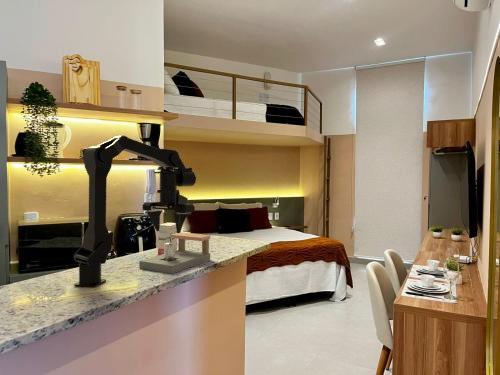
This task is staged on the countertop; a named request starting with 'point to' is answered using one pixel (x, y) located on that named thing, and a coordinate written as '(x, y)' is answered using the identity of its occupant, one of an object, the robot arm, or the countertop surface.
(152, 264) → the socket board
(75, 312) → the countertop surface
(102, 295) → the countertop surface
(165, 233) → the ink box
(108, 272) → the countertop surface
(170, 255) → the peg
